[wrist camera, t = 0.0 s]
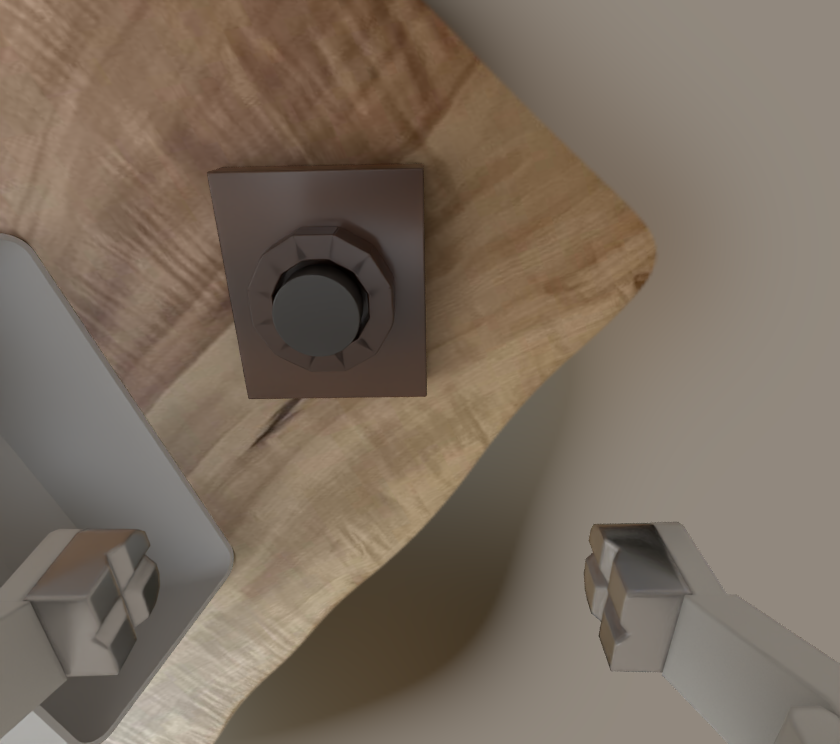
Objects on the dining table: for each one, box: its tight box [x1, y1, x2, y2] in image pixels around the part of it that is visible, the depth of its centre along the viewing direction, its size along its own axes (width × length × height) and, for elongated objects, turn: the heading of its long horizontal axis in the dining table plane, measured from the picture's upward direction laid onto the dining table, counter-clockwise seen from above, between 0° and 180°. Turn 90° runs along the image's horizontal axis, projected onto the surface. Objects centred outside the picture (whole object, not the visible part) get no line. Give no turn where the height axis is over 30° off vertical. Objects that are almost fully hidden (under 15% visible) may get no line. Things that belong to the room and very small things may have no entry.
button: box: [272, 264, 363, 357], centre depth 25 cm, size 4×4×2 cm
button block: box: [207, 163, 427, 399], centre depth 27 cm, size 12×10×4 cm
